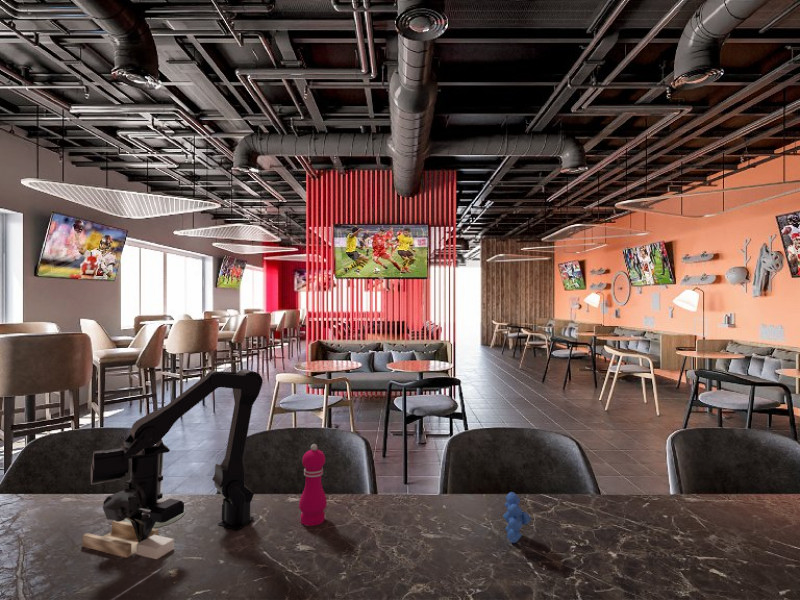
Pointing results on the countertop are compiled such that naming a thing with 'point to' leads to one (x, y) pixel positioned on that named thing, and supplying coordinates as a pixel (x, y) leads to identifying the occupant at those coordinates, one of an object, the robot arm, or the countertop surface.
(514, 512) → the grapes
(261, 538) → the countertop surface
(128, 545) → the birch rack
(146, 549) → the cream block
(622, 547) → the countertop surface
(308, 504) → the pepper mill
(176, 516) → the green plate
